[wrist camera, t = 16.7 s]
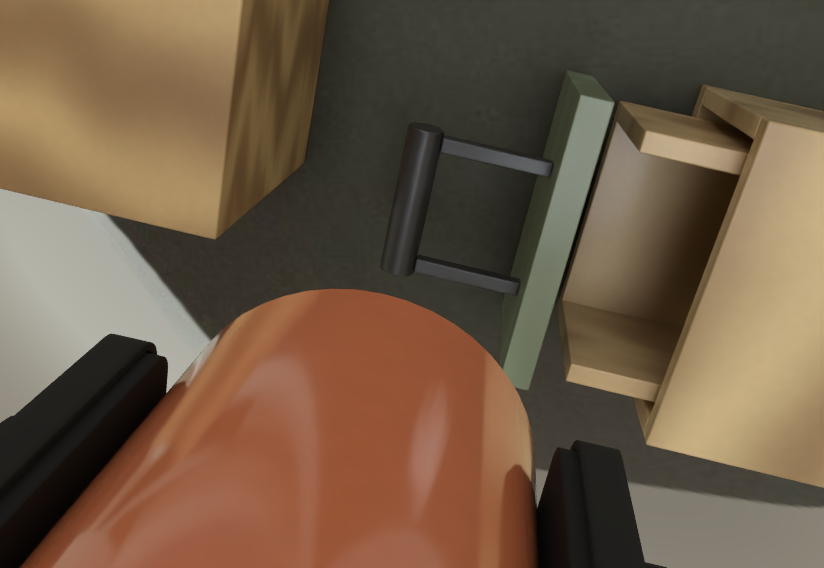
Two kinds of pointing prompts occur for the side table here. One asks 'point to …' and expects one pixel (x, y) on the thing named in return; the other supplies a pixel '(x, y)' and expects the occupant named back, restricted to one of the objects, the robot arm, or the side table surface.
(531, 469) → the spice jar
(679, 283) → the drawer
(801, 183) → the cabinet
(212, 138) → the oak stand
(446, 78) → the side table surface
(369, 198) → the side table surface
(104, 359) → the robot arm
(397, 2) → the side table surface
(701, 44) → the side table surface
